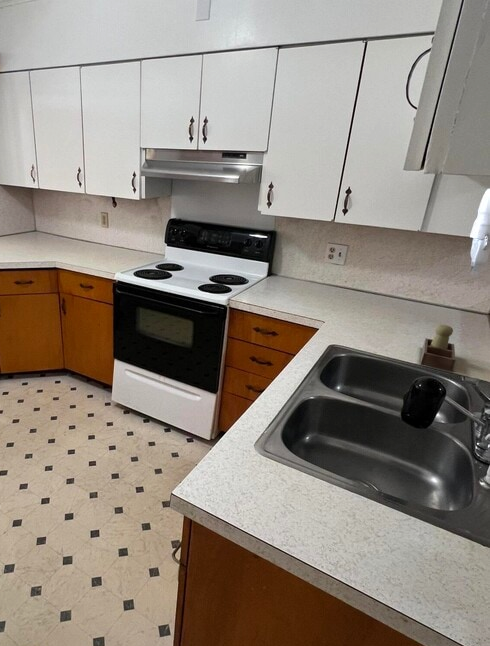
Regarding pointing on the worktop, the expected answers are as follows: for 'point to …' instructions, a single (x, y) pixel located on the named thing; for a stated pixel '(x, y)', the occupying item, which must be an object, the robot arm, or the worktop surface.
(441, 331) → the cork
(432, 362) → the rack
